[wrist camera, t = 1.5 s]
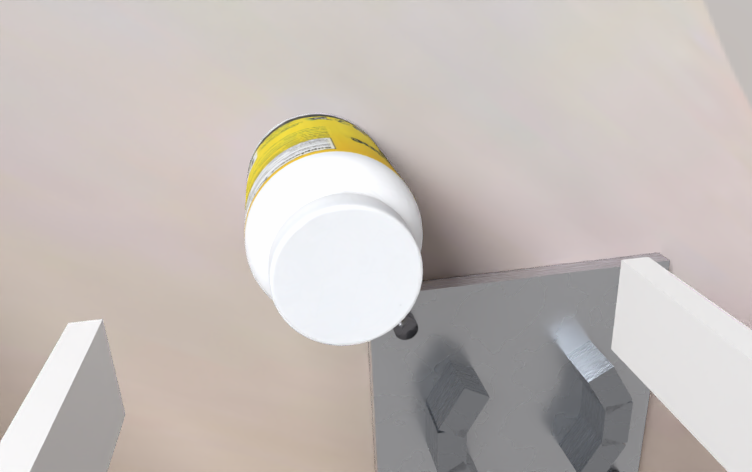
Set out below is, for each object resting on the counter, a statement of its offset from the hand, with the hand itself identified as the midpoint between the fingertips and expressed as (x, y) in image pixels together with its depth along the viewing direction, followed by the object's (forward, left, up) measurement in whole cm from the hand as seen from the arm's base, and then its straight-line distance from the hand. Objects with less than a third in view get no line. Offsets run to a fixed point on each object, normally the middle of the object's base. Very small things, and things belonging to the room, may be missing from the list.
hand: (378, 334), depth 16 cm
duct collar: (+10, -14, -14) cm, 22 cm away
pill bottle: (0, 0, -14) cm, 14 cm away
